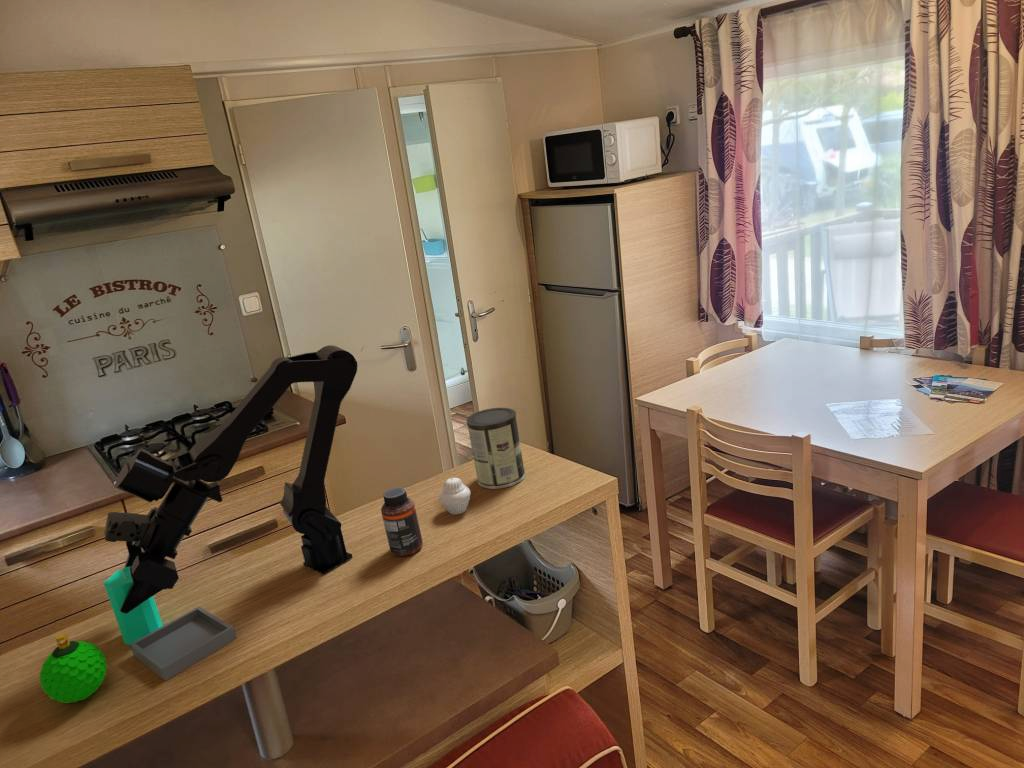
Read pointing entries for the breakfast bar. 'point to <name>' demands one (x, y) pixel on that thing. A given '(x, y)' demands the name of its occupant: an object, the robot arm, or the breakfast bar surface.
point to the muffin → (455, 496)
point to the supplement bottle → (401, 522)
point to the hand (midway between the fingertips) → (121, 600)
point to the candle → (137, 619)
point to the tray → (182, 642)
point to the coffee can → (496, 448)
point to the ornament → (72, 670)
